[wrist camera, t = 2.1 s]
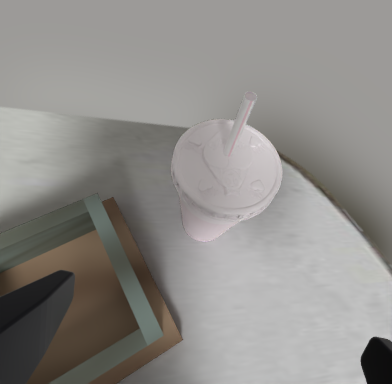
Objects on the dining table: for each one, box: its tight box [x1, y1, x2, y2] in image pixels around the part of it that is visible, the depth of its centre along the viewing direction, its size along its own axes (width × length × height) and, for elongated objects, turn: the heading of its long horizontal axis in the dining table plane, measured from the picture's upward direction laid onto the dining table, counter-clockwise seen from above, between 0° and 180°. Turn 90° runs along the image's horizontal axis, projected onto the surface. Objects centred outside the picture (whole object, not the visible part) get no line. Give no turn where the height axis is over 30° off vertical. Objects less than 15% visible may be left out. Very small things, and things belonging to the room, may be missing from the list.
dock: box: [0, 193, 183, 384], centre depth 18 cm, size 12×12×5 cm
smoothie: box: [171, 92, 283, 242], centre depth 18 cm, size 6×6×14 cm
